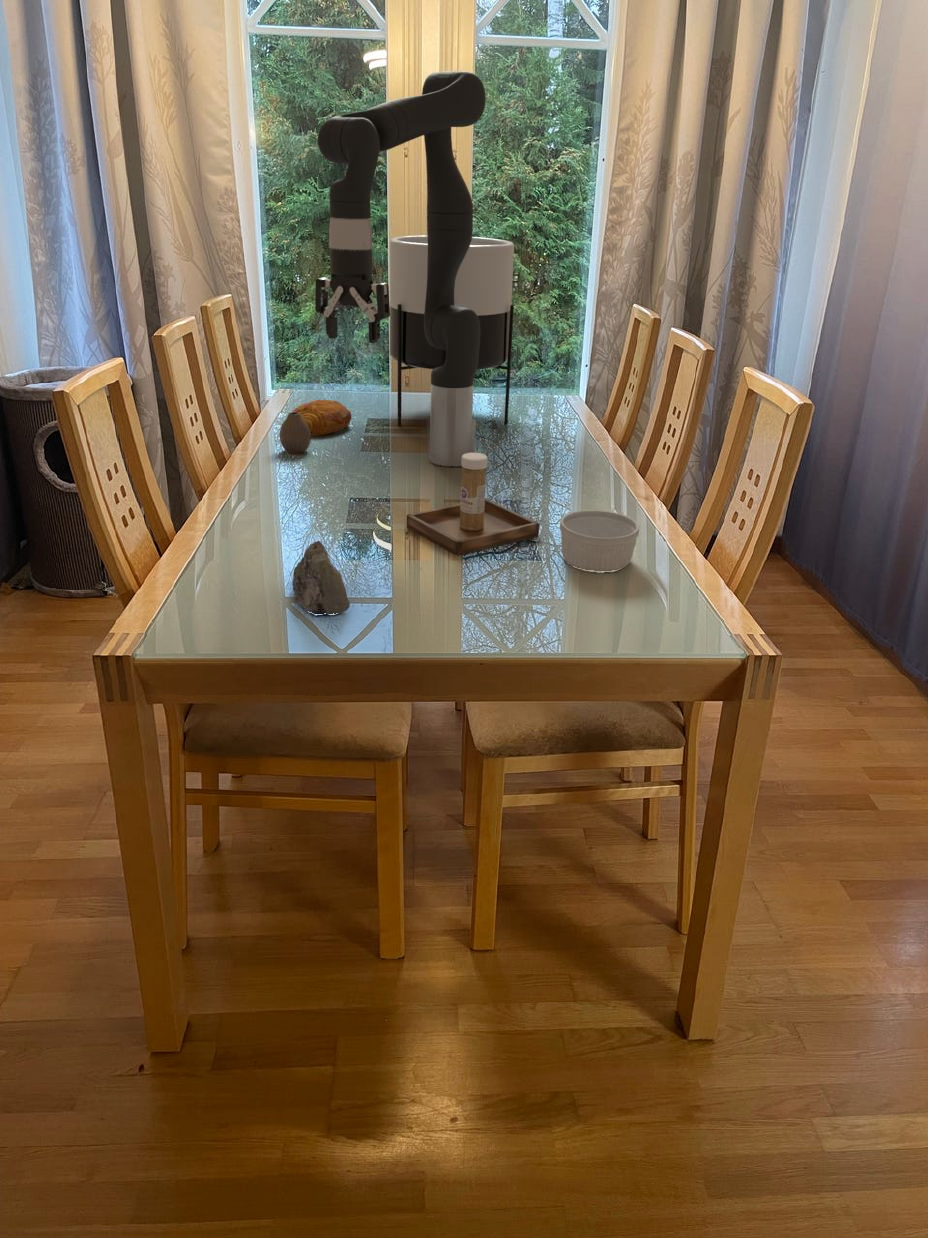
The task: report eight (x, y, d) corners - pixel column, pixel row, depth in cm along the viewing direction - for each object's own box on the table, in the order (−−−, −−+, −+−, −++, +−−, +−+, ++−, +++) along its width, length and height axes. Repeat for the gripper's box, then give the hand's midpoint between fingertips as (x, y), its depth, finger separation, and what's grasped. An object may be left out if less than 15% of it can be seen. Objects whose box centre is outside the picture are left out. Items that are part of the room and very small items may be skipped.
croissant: (361, 436, 232) (364, 403, 229) (319, 440, 219) (322, 406, 216) (317, 424, 239) (320, 393, 236) (274, 428, 226) (277, 395, 223)
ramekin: (615, 583, 149) (620, 543, 146) (543, 564, 155) (546, 526, 152) (646, 558, 160) (651, 520, 156) (577, 541, 166) (580, 504, 163)
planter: (529, 416, 246) (540, 241, 226) (463, 440, 222) (469, 248, 203) (435, 398, 261) (438, 233, 242) (364, 419, 238) (361, 238, 219)
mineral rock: (301, 579, 147) (298, 519, 142) (366, 585, 146) (365, 525, 141) (273, 614, 135) (269, 550, 131) (345, 621, 134) (343, 557, 130)
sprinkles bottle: (454, 527, 167) (456, 455, 161) (470, 521, 170) (473, 450, 164) (473, 534, 165) (476, 460, 159) (489, 527, 168) (493, 455, 162)
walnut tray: (484, 510, 178) (485, 498, 177) (538, 536, 167) (539, 523, 166) (406, 527, 169) (406, 514, 168) (457, 556, 157) (458, 542, 156)
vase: (305, 456, 206) (303, 417, 203) (275, 454, 208) (273, 415, 204) (315, 448, 213) (314, 410, 209) (287, 445, 214) (285, 408, 210)
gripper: (396, 246, 164) (396, 341, 171) (327, 241, 169) (330, 333, 176) (376, 249, 157) (377, 347, 165) (304, 244, 162) (308, 339, 170)
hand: (352, 340), depth 170 cm, fingers open, 8 cm apart
